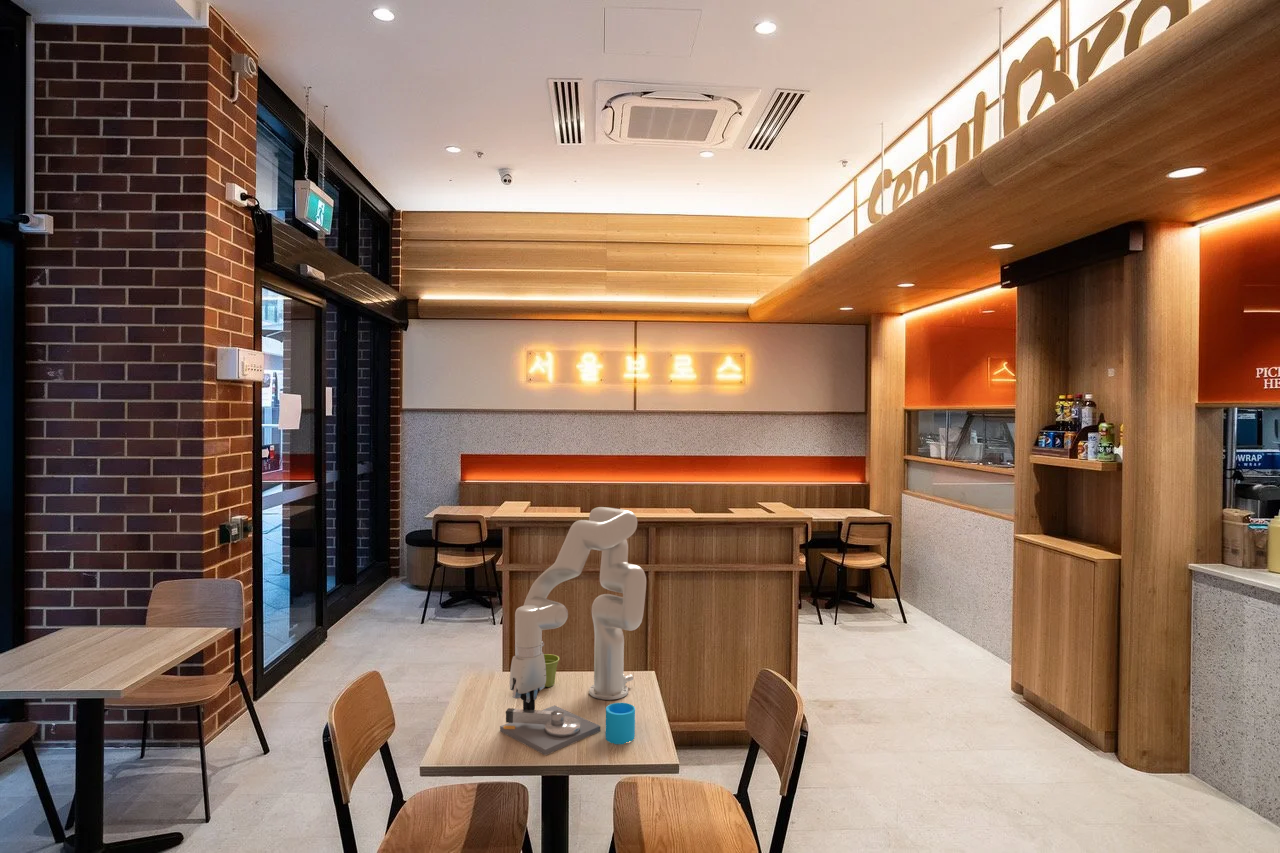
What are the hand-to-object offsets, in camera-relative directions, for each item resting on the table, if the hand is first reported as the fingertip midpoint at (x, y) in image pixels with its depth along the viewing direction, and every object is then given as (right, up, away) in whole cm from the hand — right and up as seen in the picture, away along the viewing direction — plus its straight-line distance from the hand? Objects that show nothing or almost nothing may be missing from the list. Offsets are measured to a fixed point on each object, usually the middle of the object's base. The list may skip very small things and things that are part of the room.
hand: (529, 713), depth 201 cm
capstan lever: (+5, -3, -3) cm, 6 cm away
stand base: (+6, -4, -2) cm, 8 cm away
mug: (+26, -5, -3) cm, 27 cm away
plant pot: (0, -4, +33) cm, 33 cm away
